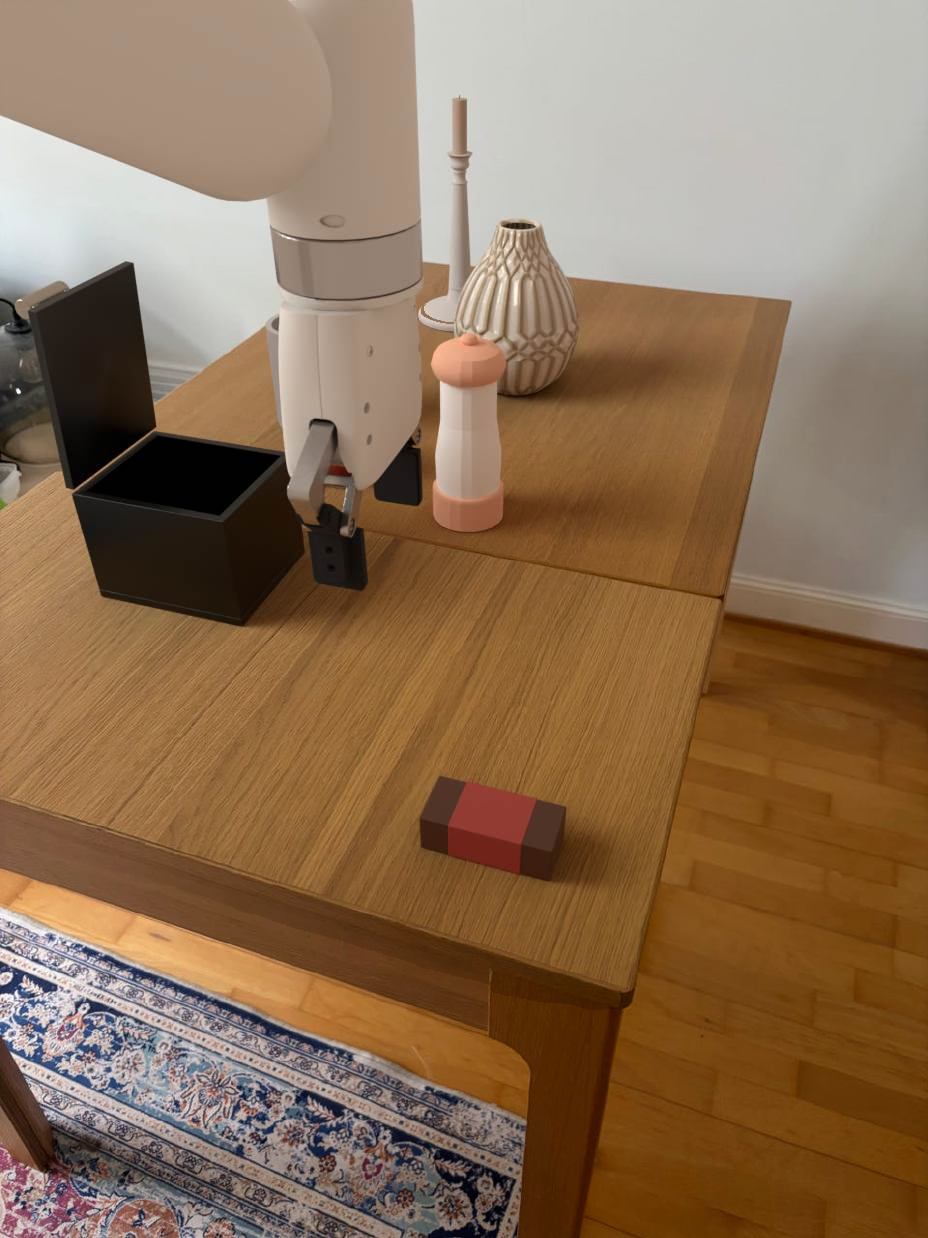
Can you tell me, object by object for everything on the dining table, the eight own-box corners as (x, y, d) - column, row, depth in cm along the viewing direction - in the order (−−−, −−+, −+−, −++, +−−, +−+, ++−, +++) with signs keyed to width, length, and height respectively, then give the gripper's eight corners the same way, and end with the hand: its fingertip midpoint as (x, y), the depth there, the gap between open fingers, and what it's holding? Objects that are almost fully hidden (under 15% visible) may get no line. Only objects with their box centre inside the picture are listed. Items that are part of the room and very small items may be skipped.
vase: (582, 365, 129) (595, 210, 117) (563, 414, 117) (575, 247, 105) (470, 354, 133) (470, 202, 120) (440, 400, 120) (437, 237, 108)
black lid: (133, 262, 80) (78, 251, 81) (36, 311, 70) (-25, 298, 71) (156, 426, 89) (107, 414, 90) (73, 490, 80) (19, 475, 81)
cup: (296, 399, 121) (285, 305, 113) (363, 407, 119) (356, 312, 111) (265, 429, 114) (251, 332, 107) (335, 439, 112) (326, 340, 105)
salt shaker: (517, 515, 98) (524, 335, 86) (465, 540, 94) (465, 355, 83) (471, 489, 102) (472, 314, 91) (419, 512, 99) (412, 332, 87)
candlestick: (408, 327, 141) (400, 100, 122) (430, 299, 151) (425, 85, 132) (493, 334, 138) (497, 104, 120) (509, 305, 148) (515, 88, 130)
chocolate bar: (564, 835, 65) (567, 805, 63) (549, 883, 62) (552, 852, 60) (440, 804, 67) (439, 774, 65) (420, 848, 64) (418, 818, 62)
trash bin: (305, 551, 93) (293, 452, 86) (242, 626, 83) (223, 521, 77) (175, 527, 96) (154, 430, 90) (101, 596, 87) (71, 493, 80)
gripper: (345, 208, 55) (366, 467, 66) (198, 308, 42) (253, 611, 53) (467, 217, 54) (469, 482, 64) (353, 324, 41) (378, 635, 51)
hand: (371, 540), depth 59 cm, fingers open, 9 cm apart
